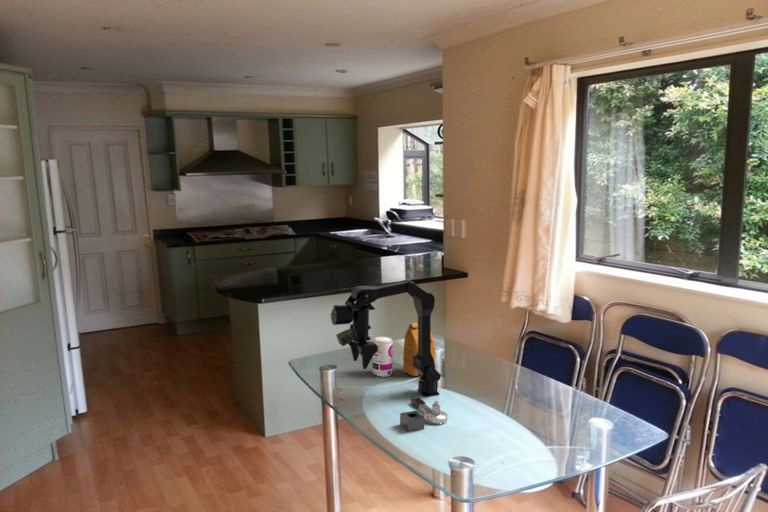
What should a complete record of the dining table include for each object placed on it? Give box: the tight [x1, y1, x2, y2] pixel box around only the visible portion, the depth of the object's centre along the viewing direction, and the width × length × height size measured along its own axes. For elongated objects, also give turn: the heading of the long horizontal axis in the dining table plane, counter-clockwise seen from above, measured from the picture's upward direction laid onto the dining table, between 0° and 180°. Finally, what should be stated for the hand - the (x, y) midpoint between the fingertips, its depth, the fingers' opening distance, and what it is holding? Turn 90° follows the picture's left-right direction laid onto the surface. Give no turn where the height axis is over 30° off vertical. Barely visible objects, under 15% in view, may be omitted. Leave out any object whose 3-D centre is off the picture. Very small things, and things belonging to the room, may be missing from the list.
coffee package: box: [402, 321, 436, 377], centre depth 245 cm, size 10×12×22 cm
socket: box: [399, 410, 426, 433], centre depth 195 cm, size 6×6×4 cm
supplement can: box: [372, 336, 394, 378], centre depth 243 cm, size 8×8×15 cm
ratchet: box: [410, 397, 448, 425], centre depth 206 cm, size 8×20×6 cm, turn 24°
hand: (359, 364), depth 211 cm, fingers open, 9 cm apart
